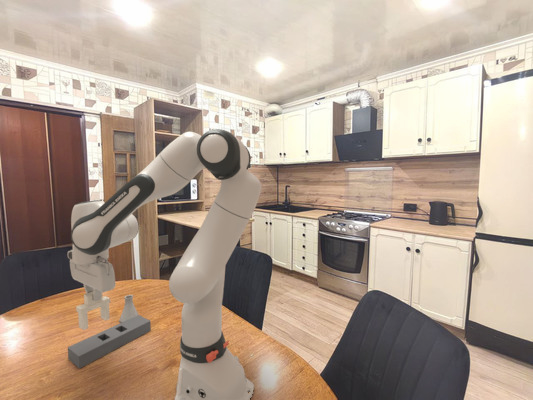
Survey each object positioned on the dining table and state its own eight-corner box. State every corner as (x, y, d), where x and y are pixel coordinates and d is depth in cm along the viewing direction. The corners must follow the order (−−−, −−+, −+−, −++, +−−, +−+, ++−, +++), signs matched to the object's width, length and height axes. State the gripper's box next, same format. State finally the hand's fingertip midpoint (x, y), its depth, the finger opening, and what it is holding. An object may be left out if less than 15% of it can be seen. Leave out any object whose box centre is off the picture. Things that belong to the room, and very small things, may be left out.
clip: (110, 318, 80) (109, 289, 79) (81, 330, 73) (80, 299, 73) (106, 315, 82) (104, 287, 81) (77, 327, 75) (75, 296, 74)
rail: (150, 330, 98) (150, 320, 98) (79, 368, 78) (78, 356, 78) (138, 324, 103) (138, 314, 102) (68, 358, 82) (67, 347, 82)
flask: (130, 325, 102) (129, 301, 101) (115, 323, 104) (114, 299, 103) (142, 315, 109) (142, 293, 108) (128, 314, 111) (127, 291, 110)
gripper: (120, 256, 73) (122, 303, 74) (87, 247, 84) (89, 287, 85) (96, 262, 68) (99, 312, 69) (64, 251, 79) (67, 294, 80)
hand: (93, 298), depth 77 cm, fingers closed on clip, 2 cm apart
